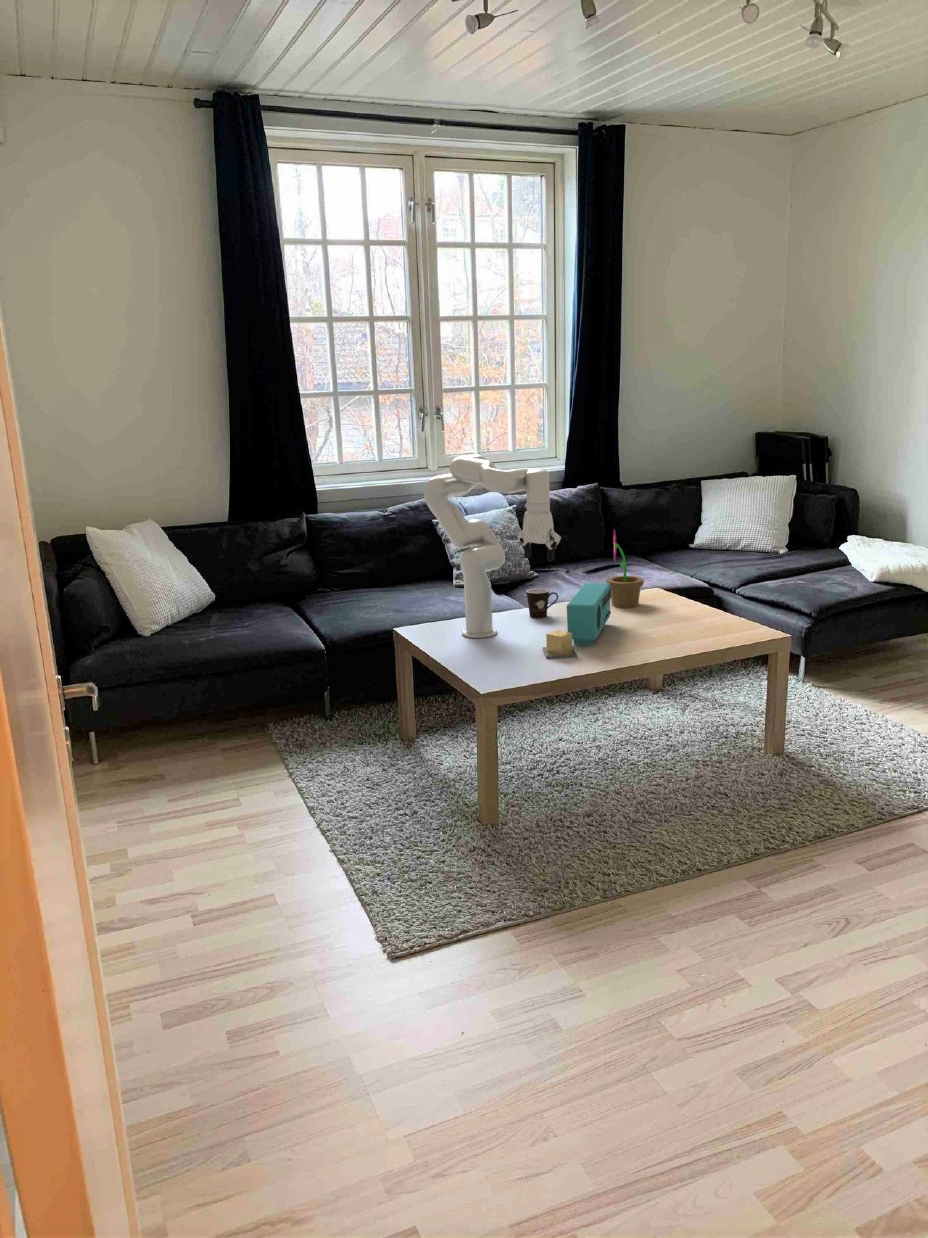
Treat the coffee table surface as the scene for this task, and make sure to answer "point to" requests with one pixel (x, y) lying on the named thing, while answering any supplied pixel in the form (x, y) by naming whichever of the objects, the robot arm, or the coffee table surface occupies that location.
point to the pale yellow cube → (559, 641)
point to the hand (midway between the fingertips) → (539, 559)
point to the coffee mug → (539, 602)
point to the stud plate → (554, 655)
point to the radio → (588, 612)
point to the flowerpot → (624, 585)
